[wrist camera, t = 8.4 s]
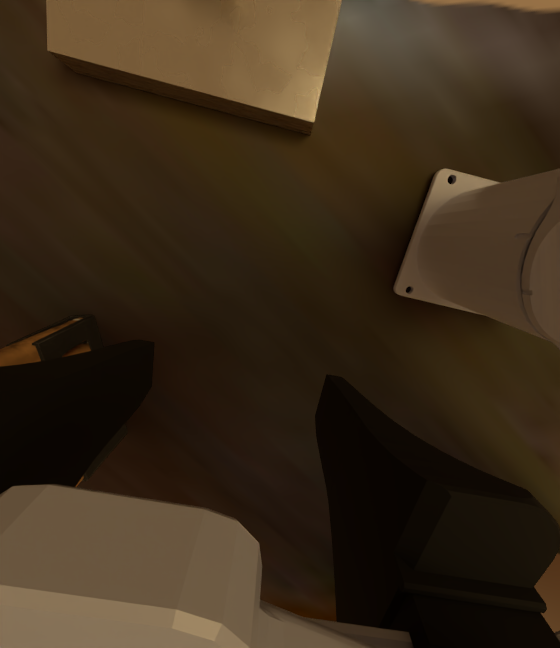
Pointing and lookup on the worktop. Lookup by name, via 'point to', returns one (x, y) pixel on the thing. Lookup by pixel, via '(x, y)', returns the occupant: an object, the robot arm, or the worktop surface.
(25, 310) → the worktop surface
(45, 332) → the ammunition clip
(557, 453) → the worktop surface
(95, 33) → the plate with square hole
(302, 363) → the worktop surface
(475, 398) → the worktop surface
